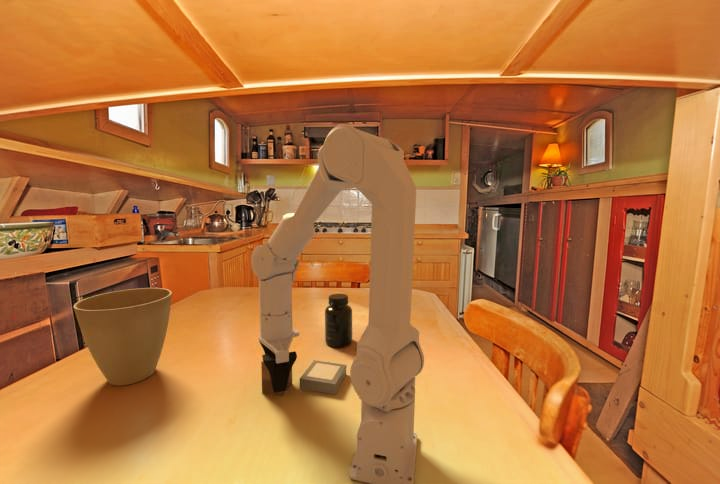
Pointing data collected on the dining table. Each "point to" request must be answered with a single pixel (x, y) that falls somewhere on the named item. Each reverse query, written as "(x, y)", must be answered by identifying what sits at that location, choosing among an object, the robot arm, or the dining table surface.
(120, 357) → the plant pot
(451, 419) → the dining table surface
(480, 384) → the dining table surface
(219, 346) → the dining table surface
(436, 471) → the dining table surface
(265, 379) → the walnut block
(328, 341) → the supplement bottle
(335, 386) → the base tile
